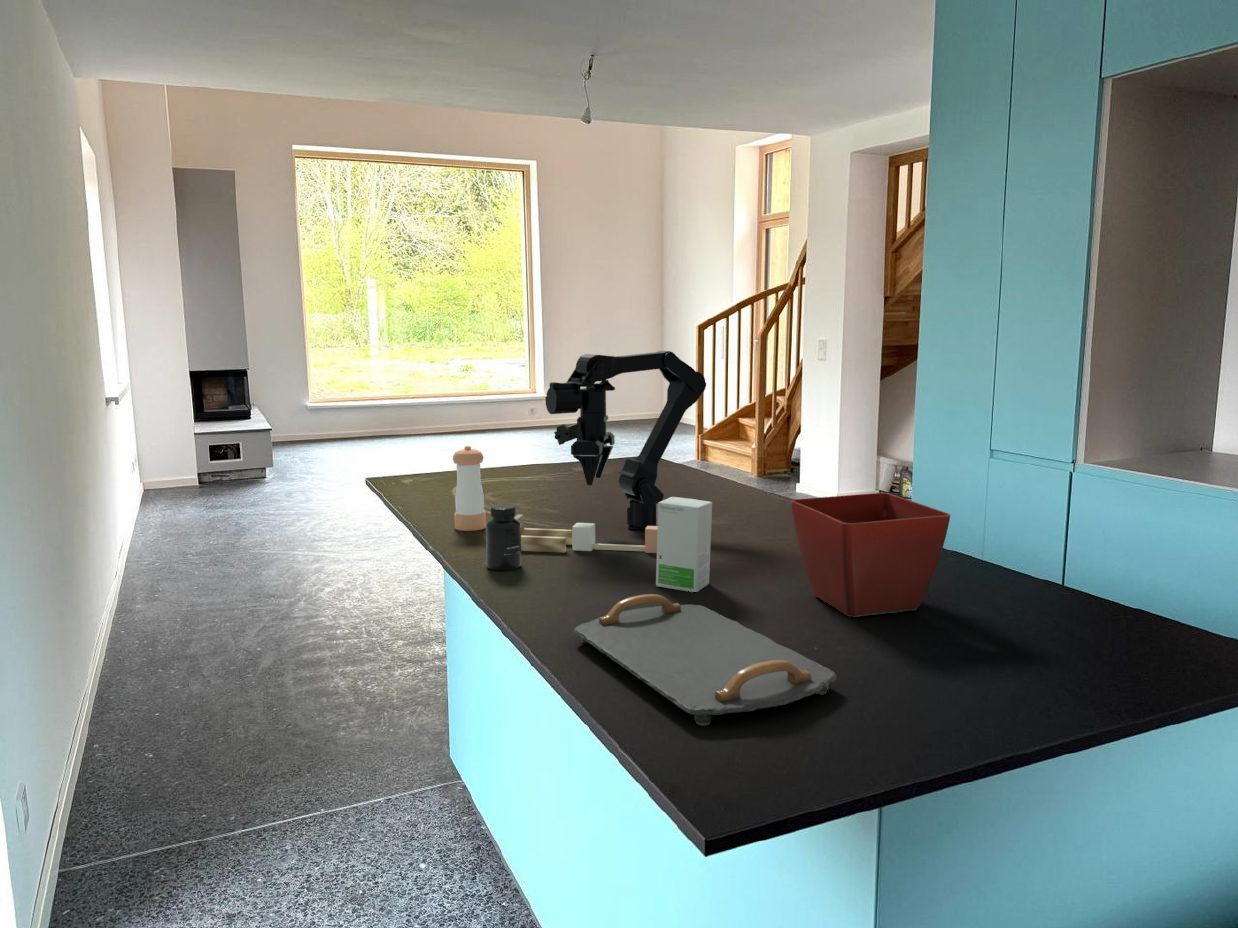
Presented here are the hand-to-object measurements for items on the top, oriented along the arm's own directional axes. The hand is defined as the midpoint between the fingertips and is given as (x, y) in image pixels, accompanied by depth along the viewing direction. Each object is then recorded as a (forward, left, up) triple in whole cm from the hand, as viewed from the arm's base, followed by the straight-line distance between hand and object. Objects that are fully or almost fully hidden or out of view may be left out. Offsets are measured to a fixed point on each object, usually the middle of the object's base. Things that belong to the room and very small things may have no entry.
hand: (594, 481), depth 197 cm
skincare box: (-24, +36, -12) cm, 45 cm away
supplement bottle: (+12, +29, -12) cm, 34 cm away
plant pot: (-55, +42, -12) cm, 70 cm away
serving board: (-30, +73, -13) cm, 80 cm away
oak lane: (+8, +13, -12) cm, 20 cm away
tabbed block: (-8, +13, -12) cm, 19 cm away
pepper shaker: (+30, -2, -12) cm, 32 cm away
